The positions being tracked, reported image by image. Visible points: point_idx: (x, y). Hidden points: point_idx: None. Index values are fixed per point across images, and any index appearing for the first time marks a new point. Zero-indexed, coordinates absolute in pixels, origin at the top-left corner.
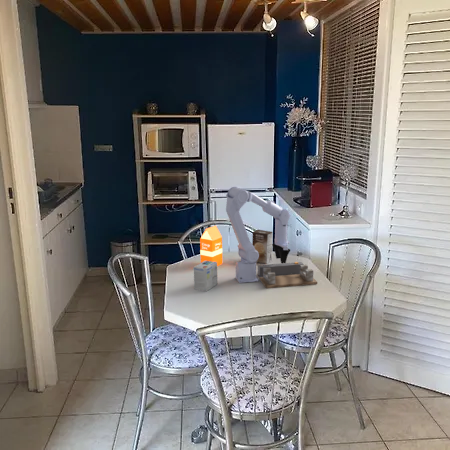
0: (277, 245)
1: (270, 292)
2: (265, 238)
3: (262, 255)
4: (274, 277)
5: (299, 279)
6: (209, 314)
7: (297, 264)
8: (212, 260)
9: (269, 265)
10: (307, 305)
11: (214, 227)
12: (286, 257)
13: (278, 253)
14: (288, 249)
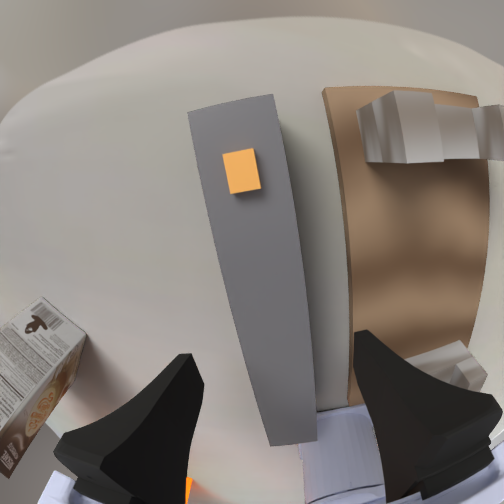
0: (162, 500)
1: (489, 346)
2: (4, 442)
3: (61, 376)
4: (475, 364)
5: (444, 192)
6: (493, 430)
7: (277, 164)
8: (187, 499)
9: (283, 404)
10: None
11: None
12: (403, 365)
13: (182, 410)
14: (474, 435)
